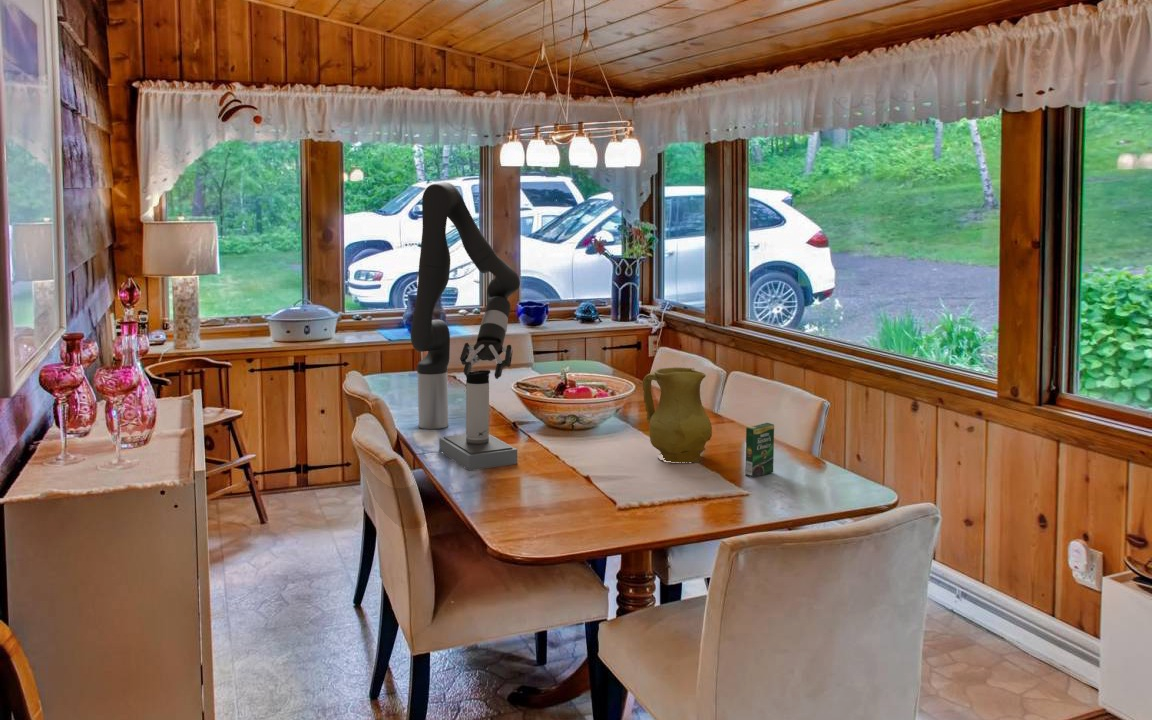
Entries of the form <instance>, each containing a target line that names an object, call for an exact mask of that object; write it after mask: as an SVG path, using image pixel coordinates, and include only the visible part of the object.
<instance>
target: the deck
mask: <svg viewBox="0 0 1152 720" xmlns="http://www.w3.org/2000/svg"><path fill="white" fill-rule="evenodd" d="M488 436H489V441H488V442H487V443H484V444H471V443H468V442H467V441H466V433H461V434H454V435H453V434H452V435H445V436H440V437H438V439H439V441H438V442H439V443H438V447H439V449H438V450H439V452H440V451H441V452H443V453H444V454H445V455H444V454H443V453H442V454H443V455H444V456H446V455H447V456H448V458H449V457H450V458H449V459H450V460H452V459H453V460H452V461H454V462H455V461H456V462H455V463H456V464H458V463H459V464H458V465H460V466H461V465H462V466H461V467H463V468H464V467H465V468H464V469H466V470H467V469H468V470H467V471H469V472H470V470H471V471H476V470H477V469H478V470H484V468H485V469H489V468H495V467H496V468H497V467H503V466H511V465H517V464H518V448H516V447H514V446H512V445H511V444H508V443H507V442H505V441H503V440H502V439H499V438H498V437H495V436H493V435H492V434H490V433H489V435H488ZM441 452H440V453H441ZM447 456H446V457H447Z"/></svg>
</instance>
